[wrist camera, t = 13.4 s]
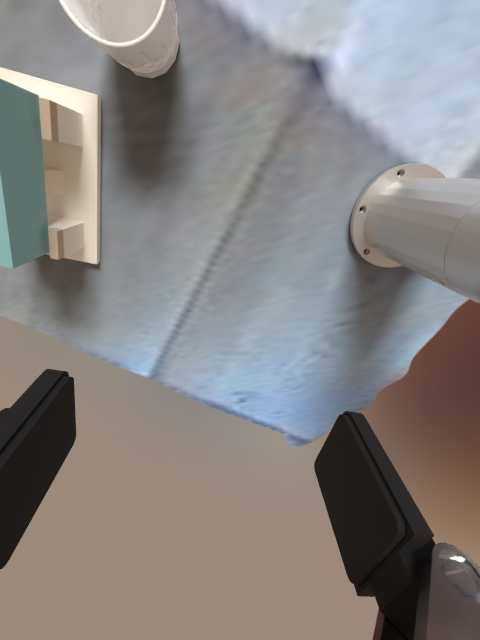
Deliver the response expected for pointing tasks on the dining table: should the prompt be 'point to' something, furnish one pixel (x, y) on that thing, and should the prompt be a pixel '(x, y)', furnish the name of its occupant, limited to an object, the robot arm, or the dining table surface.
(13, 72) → the stand
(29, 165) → the teal bar
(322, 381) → the dining table surface
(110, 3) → the white cup
